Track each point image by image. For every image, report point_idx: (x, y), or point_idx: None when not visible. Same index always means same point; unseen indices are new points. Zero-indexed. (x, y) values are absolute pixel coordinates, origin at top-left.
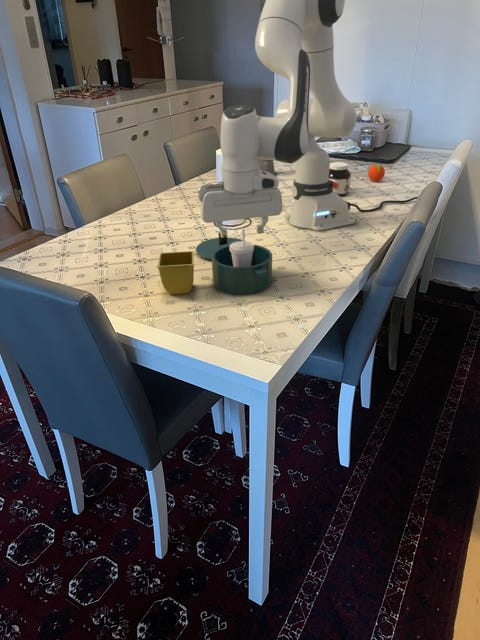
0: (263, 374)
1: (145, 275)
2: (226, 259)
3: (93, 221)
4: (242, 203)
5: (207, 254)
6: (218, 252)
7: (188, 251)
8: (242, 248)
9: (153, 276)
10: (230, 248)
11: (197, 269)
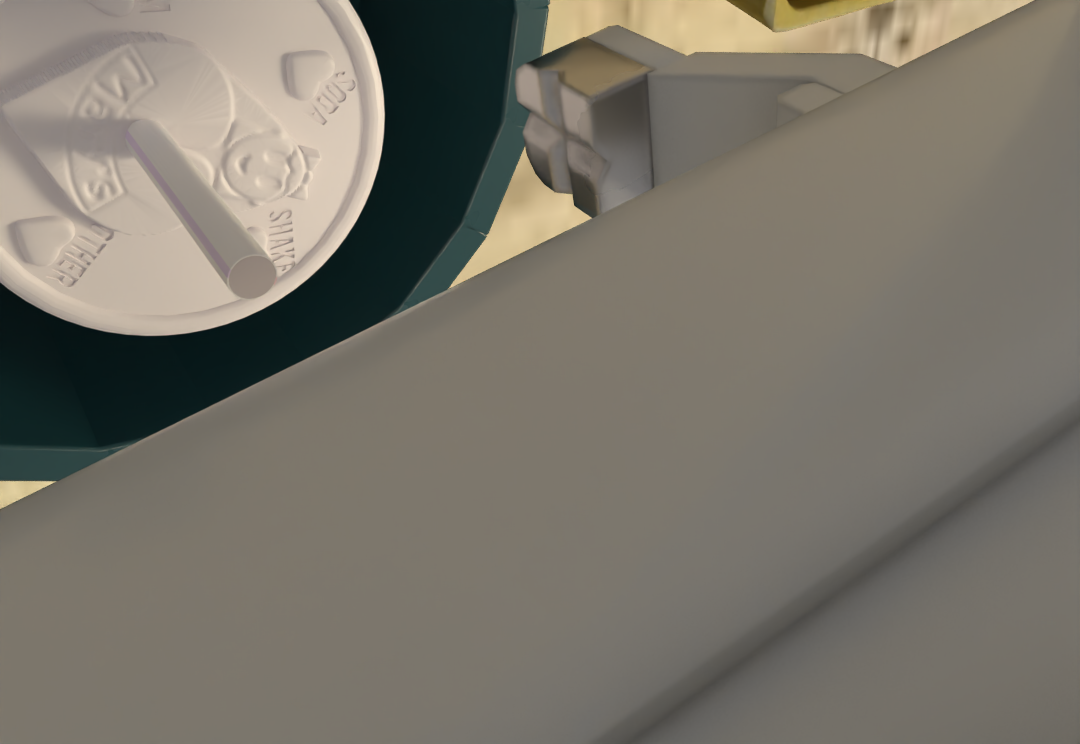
0: None
1: (862, 46)
2: None
3: None
4: (714, 685)
5: None
6: (462, 186)
7: (813, 16)
8: (147, 20)
9: (822, 33)
10: (362, 27)
11: (530, 200)
